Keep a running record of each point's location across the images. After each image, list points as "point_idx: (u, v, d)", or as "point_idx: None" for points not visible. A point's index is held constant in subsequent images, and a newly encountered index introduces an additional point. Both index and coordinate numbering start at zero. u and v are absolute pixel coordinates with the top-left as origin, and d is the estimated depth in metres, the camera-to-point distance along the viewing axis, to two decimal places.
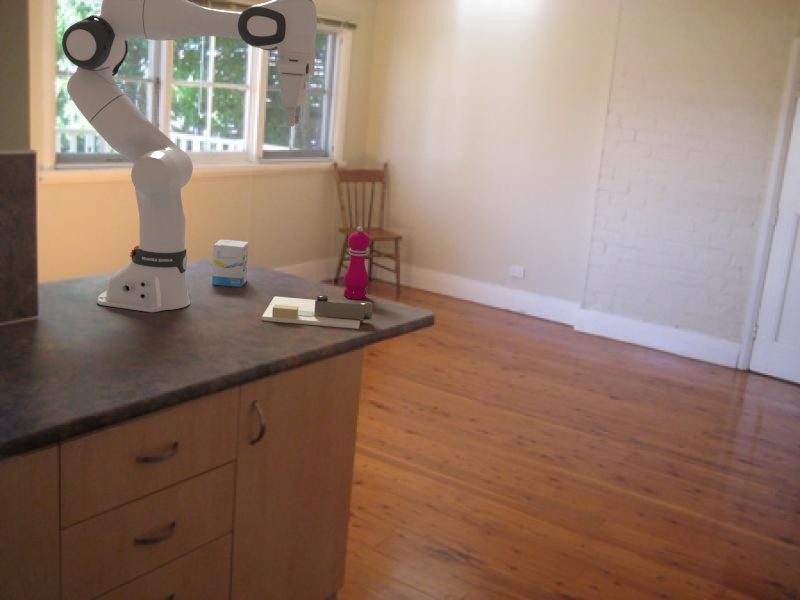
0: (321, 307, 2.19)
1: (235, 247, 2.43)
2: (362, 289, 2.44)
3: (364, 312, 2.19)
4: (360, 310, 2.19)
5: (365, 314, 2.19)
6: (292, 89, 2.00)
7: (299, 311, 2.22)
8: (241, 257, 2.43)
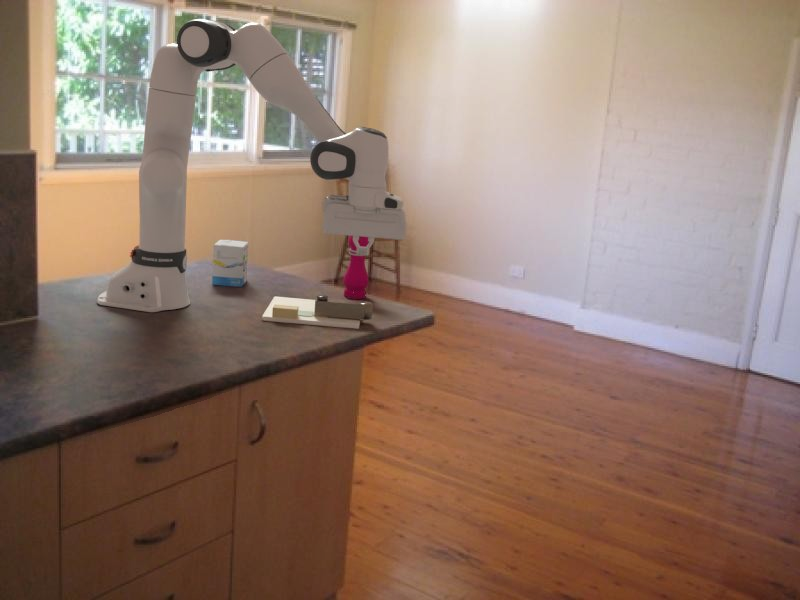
0: (321, 307, 2.19)
1: (235, 247, 2.43)
2: (362, 289, 2.44)
3: (364, 312, 2.19)
4: (360, 310, 2.19)
5: (365, 314, 2.19)
6: None
7: (299, 311, 2.22)
8: (241, 257, 2.43)
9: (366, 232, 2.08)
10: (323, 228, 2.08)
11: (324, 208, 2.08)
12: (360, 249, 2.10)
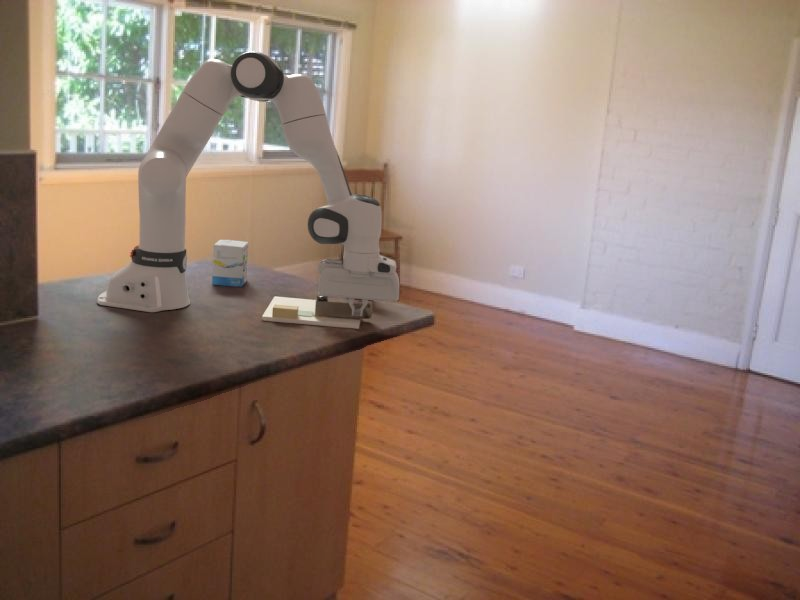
0: (322, 307, 2.19)
1: (235, 247, 2.43)
2: None
3: (365, 311, 2.20)
4: None
5: (365, 313, 2.20)
6: None
7: (299, 311, 2.22)
8: (241, 257, 2.43)
9: (360, 295, 2.16)
10: (319, 291, 2.16)
11: (320, 271, 2.16)
12: (355, 311, 2.18)
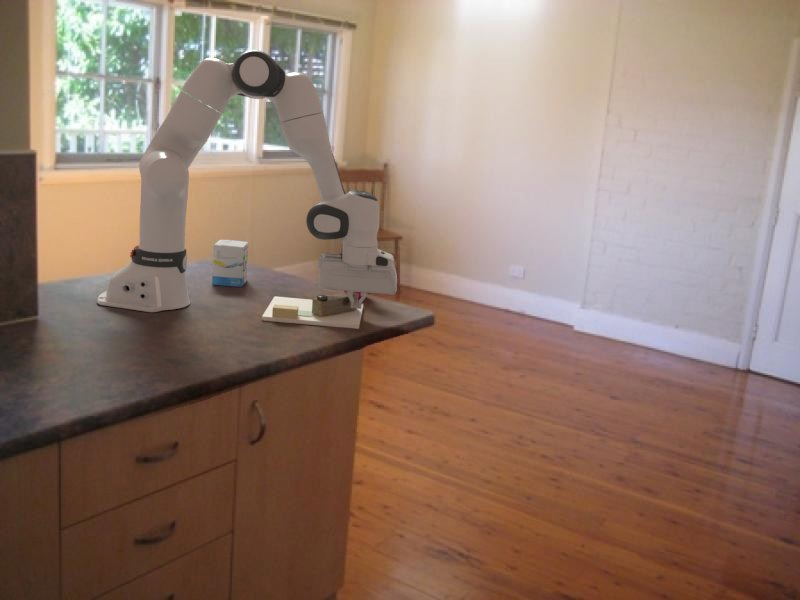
0: (327, 307, 2.20)
1: (235, 247, 2.43)
2: None
3: None
4: None
5: None
6: (396, 278, 2.24)
7: (299, 311, 2.22)
8: (241, 257, 2.43)
9: (359, 288, 2.22)
10: (319, 284, 2.22)
11: (320, 265, 2.22)
12: (354, 303, 2.24)
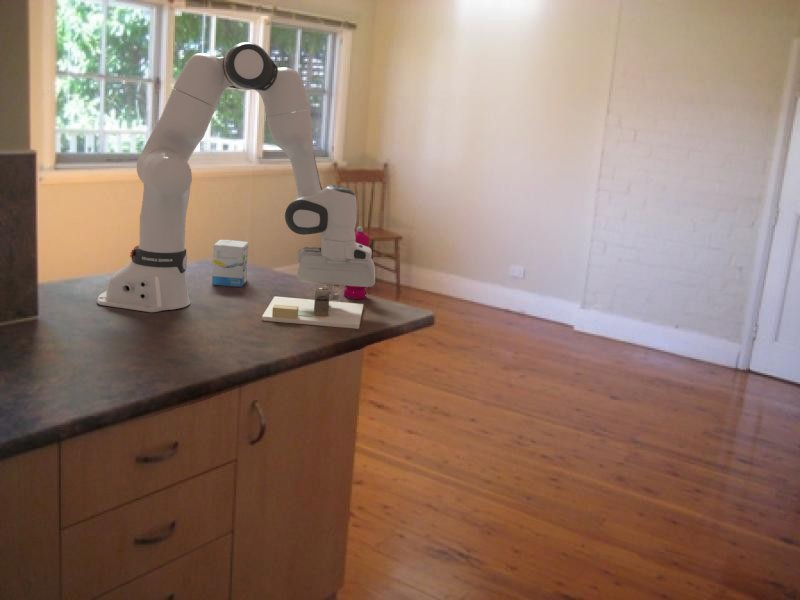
0: None
1: (235, 247, 2.43)
2: (362, 289, 2.44)
3: None
4: None
5: None
6: (374, 270, 2.28)
7: (299, 311, 2.22)
8: (241, 257, 2.43)
9: (338, 280, 2.27)
10: (298, 277, 2.27)
11: (299, 259, 2.27)
12: (334, 296, 2.29)
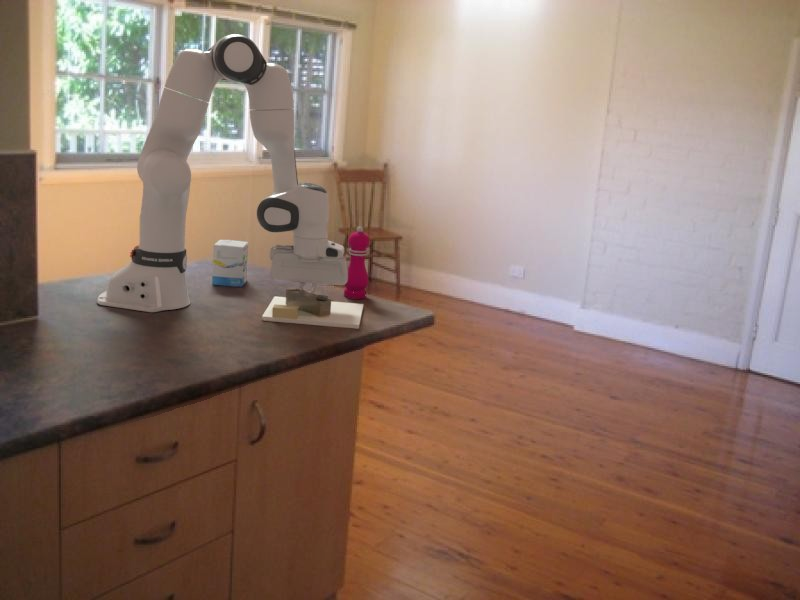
0: None
1: (235, 247, 2.43)
2: (362, 289, 2.44)
3: None
4: None
5: None
6: (347, 268, 2.27)
7: (299, 311, 2.22)
8: (241, 257, 2.43)
9: (310, 279, 2.26)
10: (271, 276, 2.26)
11: (271, 257, 2.26)
12: None
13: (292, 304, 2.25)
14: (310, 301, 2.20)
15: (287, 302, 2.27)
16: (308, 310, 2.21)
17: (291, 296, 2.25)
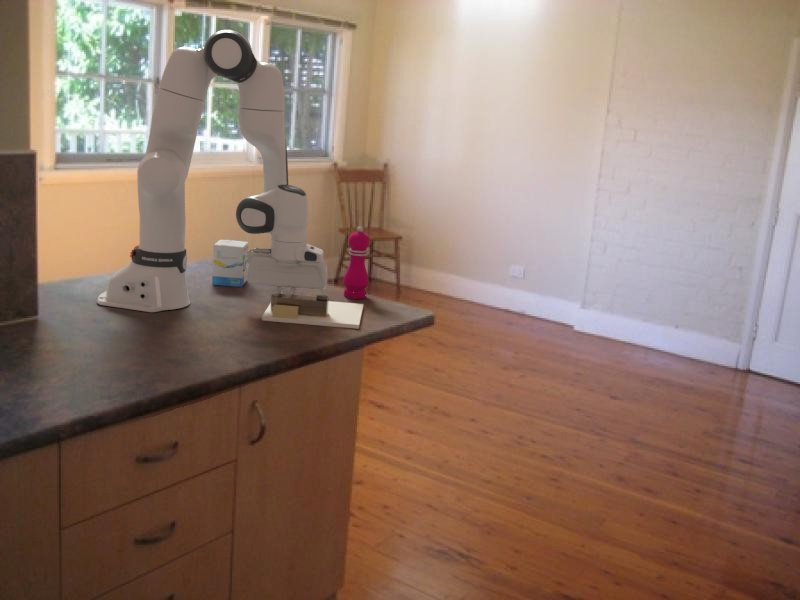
0: None
1: (235, 247, 2.43)
2: (362, 289, 2.44)
3: None
4: None
5: None
6: (326, 273, 2.22)
7: None
8: (241, 257, 2.43)
9: (288, 283, 2.20)
10: (248, 279, 2.20)
11: (249, 260, 2.20)
12: None
13: None
14: (312, 303, 2.19)
15: None
16: (309, 312, 2.19)
17: (283, 302, 2.19)
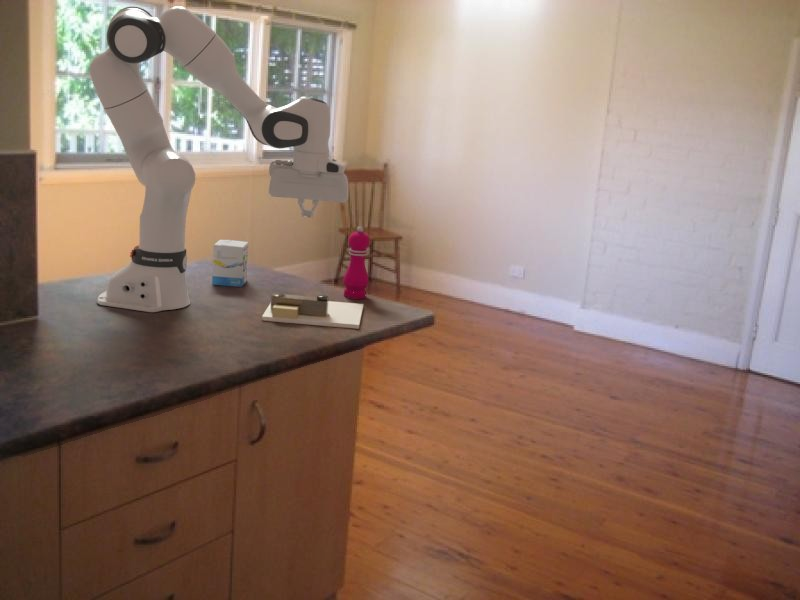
0: None
1: (235, 247, 2.43)
2: (362, 289, 2.44)
3: None
4: None
5: None
6: None
7: None
8: (241, 257, 2.43)
9: (310, 195, 2.22)
10: (270, 191, 2.22)
11: (271, 173, 2.22)
12: (305, 211, 2.24)
13: None
14: (312, 303, 2.19)
15: None
16: (309, 313, 2.19)
17: (283, 302, 2.19)
